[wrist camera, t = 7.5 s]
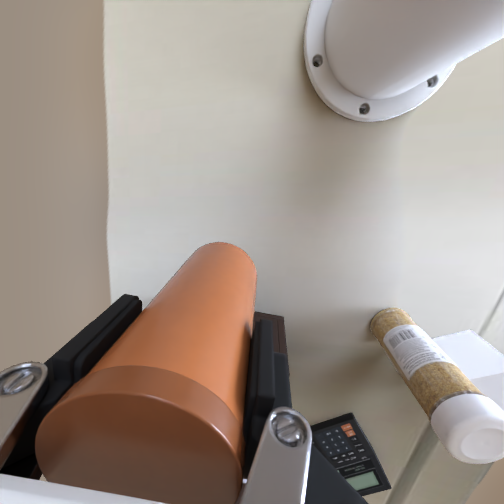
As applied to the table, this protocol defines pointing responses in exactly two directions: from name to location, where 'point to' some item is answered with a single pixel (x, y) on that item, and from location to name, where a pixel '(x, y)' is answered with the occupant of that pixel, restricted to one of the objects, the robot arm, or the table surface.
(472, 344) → the white cube
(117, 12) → the table surface
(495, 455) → the sprinkles bottle
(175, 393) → the tin
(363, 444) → the calculator
